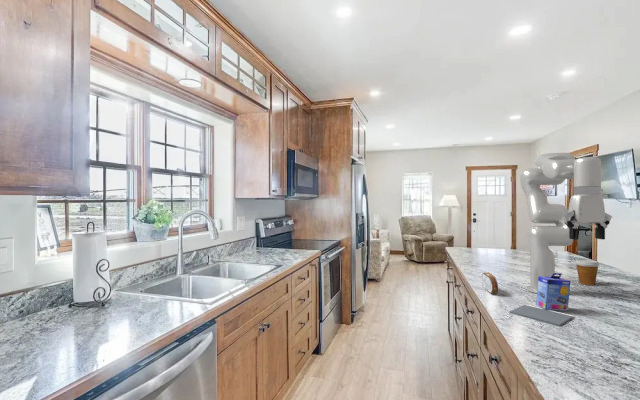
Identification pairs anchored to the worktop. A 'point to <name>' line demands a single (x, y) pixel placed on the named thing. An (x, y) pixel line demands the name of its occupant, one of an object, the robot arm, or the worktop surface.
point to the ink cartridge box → (553, 292)
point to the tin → (490, 283)
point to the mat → (542, 315)
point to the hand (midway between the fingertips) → (586, 239)
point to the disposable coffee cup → (587, 271)
